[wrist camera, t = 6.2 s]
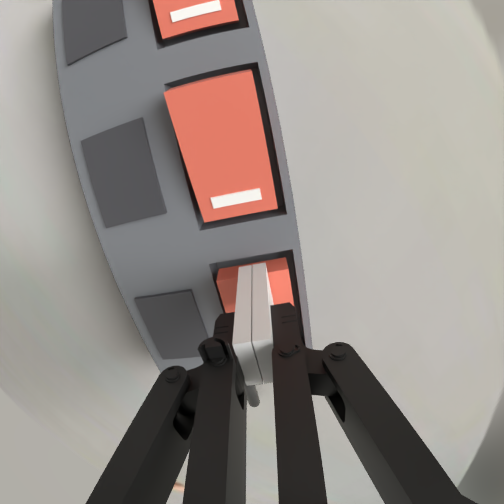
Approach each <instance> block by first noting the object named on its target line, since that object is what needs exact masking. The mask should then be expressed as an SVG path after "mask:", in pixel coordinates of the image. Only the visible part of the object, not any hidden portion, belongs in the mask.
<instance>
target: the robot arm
mask: <svg viewBox="0 0 504 504" xmlns="http://www.w3.org/2000/svg"><path fill="white" fill-rule="evenodd" d="M198 351H199V353H200V355H201V358H202V360H203V364H202V365H200V366H198V367H196V368H193V369H190V370H187V371H186V369H185V368H184V367H182V366H179V365H178V366H171V367H168V368H166V369H165V370H163V371H162V373H161V374H160V375H159V377H158V379H157V380H156V382H155V384H154V385H153V387H152V389H151V390H150V392H149V394H148V396H147V397H146V399H145V401H144V402H143V404H142V406H141V408H140V409H139V411H138V413H137V414H136V416H135V418H134V420H133V421H132V423H131V425H130V426H129V428H128V430H127V432H126V433H125V435H124V437H123V439H122V440H121V442H120V444H119V446H118V447H117V449H116V451H115V453H114V454H113V456H112V458H111V460H110V461H109V463H108V465H107V467H106V468H105V470H104V472H103V474H102V475H101V477H100V479H99V481H98V483H97V484H96V486H95V488H94V490H93V492H92V493H91V495H90V497H89V499H88V501H87V502H86V504H166V502H167V500H168V498H169V495H170V493H171V491H172V489H173V486H174V484H175V482H176V479H177V477H178V475H179V473H180V470H181V468H182V466H183V463H184V461H185V459H186V456H187V454H188V452H189V449H190V452H189V459H188V466H187V474H186V481H185V489H184V497H183V504H246V410H247V394H246V391H245V388H244V380H245V383H246V385H247V386H249V385H257V384H263V381H264V384H265V383H272V382H273V388H274V406H275V426H276V446H277V468H278V492H279V504H327V496H326V489H325V481H324V474H323V467H322V460H321V453H320V446H319V439H318V433H317V426H316V420H315V414H314V407H313V401H312V395H320V396H325V398H326V400H327V402H328V404H329V405H330V407H331V409H332V411H333V413H334V414H335V416H336V418H337V420H338V421H339V423H340V425H341V427H342V429H343V430H344V432H345V434H346V436H347V438H348V439H349V441H350V443H351V445H352V446H353V448H354V450H355V452H356V454H357V455H358V457H359V459H360V461H361V462H362V464H363V466H364V468H365V469H366V471H367V473H368V475H369V477H370V478H371V480H372V482H373V484H374V485H375V487H376V489H377V491H378V492H379V494H380V496H381V498H382V499H383V501H384V503H385V504H477V503H475V502H474V501H472V500H470V499H468V498H466V497H464V496H463V495H461V494H460V492H459V491H458V490H457V488H456V487H455V485H454V484H453V482H452V481H451V479H450V478H449V477H448V475H447V474H446V472H445V471H444V470H443V468H442V467H441V465H440V464H439V463H438V461H437V460H436V458H435V457H434V456H433V454H432V453H431V452H430V450H429V449H428V447H427V446H426V445H425V443H424V442H423V441H422V439H421V438H420V436H419V435H418V434H417V432H416V431H415V430H414V428H413V427H412V426H411V424H410V423H409V421H408V420H407V419H406V417H405V416H404V415H403V413H402V412H401V411H400V409H399V408H398V407H397V405H396V404H395V403H394V401H393V400H392V399H391V397H390V396H389V395H388V393H387V392H386V391H385V389H384V388H383V387H382V385H381V384H380V383H379V381H378V380H377V379H376V377H375V376H374V375H373V373H372V372H371V371H370V370H369V368H368V367H367V366H366V364H365V363H364V362H363V360H362V359H361V358H360V356H359V355H358V354H357V353H356V351H355V350H354V349H353V347H351V346H350V345H349V344H346V343H344V342H336V343H332V344H330V345H328V346H326V347H325V348H324V350H312V349H309V348H307V347H306V346H304V344H303V343H302V341H301V336H300V331H299V326H298V321H297V316H296V310H295V307H294V306H293V305H292V304H291V303H290V302H287V303H282V304H276V305H273V298H272V293H271V288H270V283H269V278H268V273H267V268H266V263H260V264H254V265H248V266H243V267H239V271H238V282H237V294H236V305H235V312H231V313H224V314H220V315H219V316H218V318H217V319H216V321H215V326H214V332H213V337H210V338H207V339H205V340H204V341H202V342H201V343H200V344H199V346H198Z"/></svg>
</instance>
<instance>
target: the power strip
mask: <svg viewBox="0 0 504 504" xmlns="http://www.w3.org/2000/svg"><path fill="white" fill-rule="evenodd" d="M234 2H235V6H236V10H237V14H238V19H239V22H238V23H233V24H228V25H223V26H218V27H214V28H210V29H205V30H201V31H197V32H194V33H190V34H186V35H183V36H179V37H176V38H172V39H169V40H167V39H162V35H161V31H160V27H159V23H158V19H157V15H156V11H155V7H154V3H153V0H53V30H54V45H55V56H56V65H57V73H58V81H59V87H60V94H61V100H62V106H63V111H64V116H65V121H66V126H67V131H68V135H69V140H70V144H71V148H72V153H73V157H74V160H75V164H76V168H77V172H78V175H79V179H80V182H81V186H82V189H83V193H84V196H85V199H86V202H87V205H88V209H89V212H90V215H91V218H92V221H93V224H94V226H95V229H96V232H97V235H98V238H99V240H100V243H101V246H102V248H103V251H104V254H105V256H106V259H107V261H108V264H109V266H110V269H111V271H112V274H113V276H114V278H115V281H116V283H117V286H118V288H119V290H120V292H121V295H122V297H123V299H124V301H125V304H126V306H127V308H128V310H129V312H130V314H131V316H132V319H133V321H134V323H135V325H136V327H137V329H138V331H139V333H140V335H141V337H142V339H143V341H144V343H145V345H146V347H147V348H148V350H149V352H150V354H151V356H152V358H153V360H154V361H155V363H156V365H157V367H158V369H159V371H160V372H161V373H162V371H163V370H165V369H166V368H168V367H171V366H178V365H179V366H182V367H184V368H185V369H186V371H187V370H190V369H193V368H196V367H198V366H200V365H202V364H203V360H202V358H201V355H200V353H199V351H198V346H199V344H200V343H201V342H202V341H204V340H205V339H207V338H210V337H213V332H214V326H215V321H216V319H217V318H218V316H219V315H220V314H224V313H226V312H225V309H224V305H223V302H222V299H221V296H220V292H219V289H218V285H217V282H216V280H217V276H218V271H219V269H221V268H227V267H233V266H238V265H244V264H250V263H256V262H261V261H267V260H273V259H278V258H284V257H286V260H287V265H288V269H289V275H290V282H291V288H292V295H293V302H294V307H295V310H296V316H297V321H298V326H299V331H300V336H301V341H302V343H303V344H304V346H306V347H307V348H309V349H312V350H313V348H312V338H311V329H310V319H309V310H308V302H307V293H306V285H305V277H304V269H303V262H302V255H301V247H300V240H299V233H298V227H297V220H296V213H295V207H294V201H293V194H292V188H291V182H290V176H289V171H288V165H287V159H286V154H285V148H284V143H283V137H282V132H281V127H280V122H279V116H278V111H277V106H276V102H275V97H274V92H273V87H272V83H271V78H270V73H269V69H268V64H267V60H266V55H265V51H264V47H263V43H262V38H261V34H260V30H259V26H258V22H257V18H256V14H255V10H254V6H253V3H252V0H234ZM249 69H251V71H252V74H253V78H254V83H255V88H256V93H257V98H258V103H259V108H260V113H261V118H262V123H263V129H264V134H265V139H266V145H267V150H268V155H269V161H270V166H271V172H272V178H273V183H274V189H275V195H276V201H277V207H278V209H273V210H267V211H262V212H256V213H251V214H246V215H241V216H235V217H230V218H225V219H220V220H215V221H210V222H205V223H204V220H203V217H202V214H201V211H200V208H199V205H198V202H197V199H196V196H195V193H194V190H193V187H192V183H191V180H190V177H189V174H188V171H187V168H186V165H185V162H184V158H183V155H182V152H181V149H180V146H179V142H178V139H177V136H176V133H175V129H174V126H173V123H172V119H171V116H170V113H169V109H168V106H167V103H166V99H165V96H164V92H165V91H167V90H168V89H170V88H173V87H177V86H180V85H184V84H187V83H191V82H195V81H198V80H202V79H206V78H211V77H215V76H219V75H224V74H228V73H233V72H238V71H243V70H249ZM244 388H245V391H246V394H247V399H248V402H249V404H250V406H252V407H257V406H258V405H259V404H260V400H259V397H258V394H257V391H256V388H255V385H249V386H247V385H246V383H245V380H244Z"/></svg>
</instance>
